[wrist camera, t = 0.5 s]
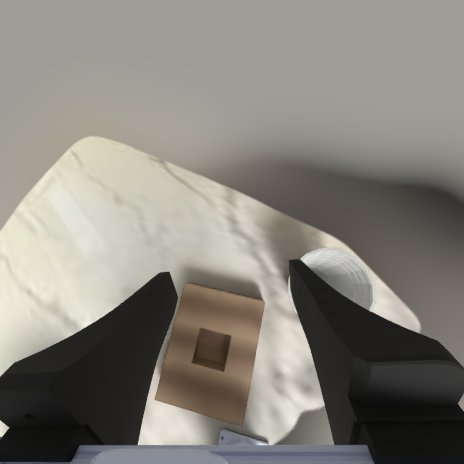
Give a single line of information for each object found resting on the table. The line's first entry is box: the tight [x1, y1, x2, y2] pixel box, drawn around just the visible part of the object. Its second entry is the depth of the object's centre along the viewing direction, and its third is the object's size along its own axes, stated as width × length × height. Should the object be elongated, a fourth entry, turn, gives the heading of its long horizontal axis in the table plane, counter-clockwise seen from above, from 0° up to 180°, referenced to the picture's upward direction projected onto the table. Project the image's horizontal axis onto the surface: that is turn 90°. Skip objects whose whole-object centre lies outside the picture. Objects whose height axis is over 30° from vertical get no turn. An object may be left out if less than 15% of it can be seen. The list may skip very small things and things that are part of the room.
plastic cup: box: [288, 248, 376, 313], centre depth 32 cm, size 11×11×12 cm
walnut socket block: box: [155, 283, 265, 427], centre depth 35 cm, size 18×14×4 cm
